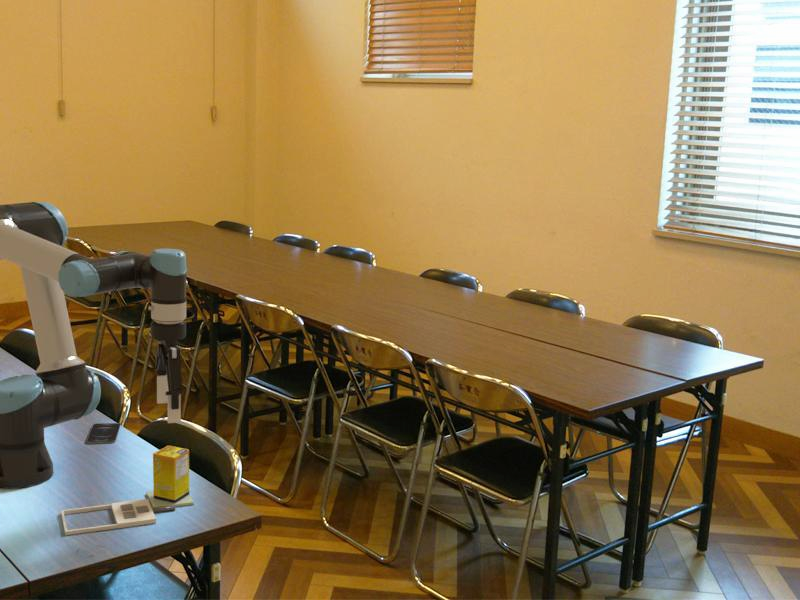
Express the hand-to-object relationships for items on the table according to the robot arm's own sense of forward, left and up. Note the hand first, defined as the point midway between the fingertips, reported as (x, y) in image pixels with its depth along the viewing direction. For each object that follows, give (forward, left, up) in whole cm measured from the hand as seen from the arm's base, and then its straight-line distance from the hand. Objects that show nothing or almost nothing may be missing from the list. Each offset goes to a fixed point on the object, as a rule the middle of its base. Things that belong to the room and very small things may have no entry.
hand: (168, 412), depth 213 cm
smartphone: (-48, -9, -21) cm, 53 cm away
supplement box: (0, +1, -20) cm, 20 cm away
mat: (0, 0, -21) cm, 21 cm away
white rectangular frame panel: (+6, -12, -21) cm, 24 cm away
